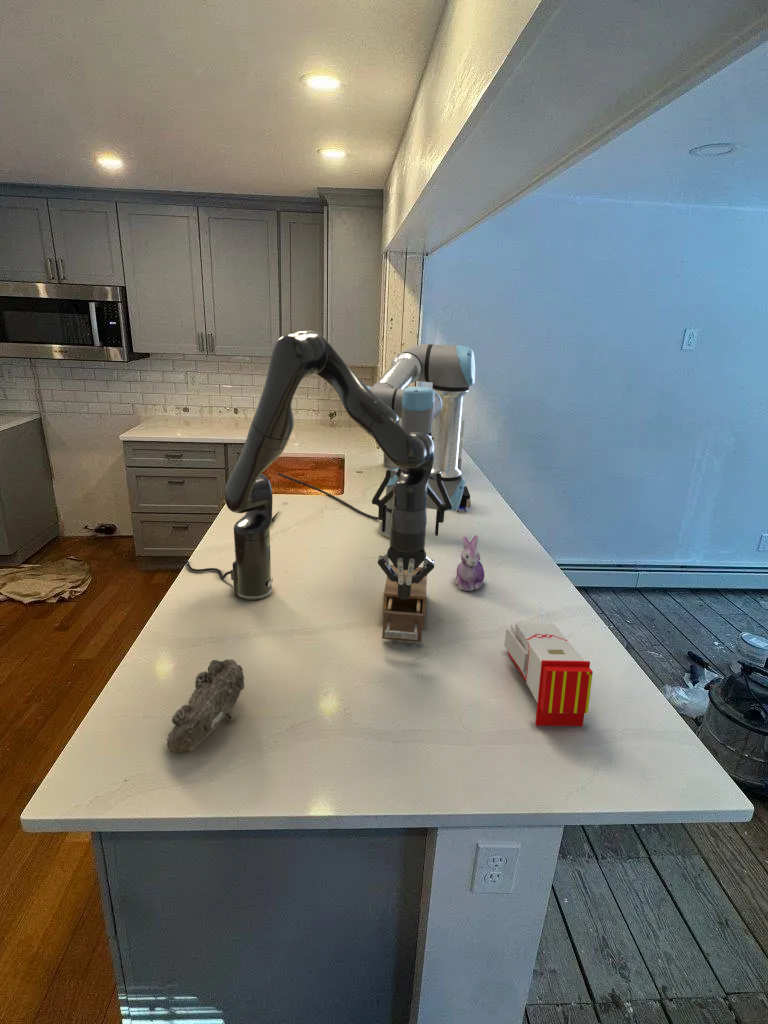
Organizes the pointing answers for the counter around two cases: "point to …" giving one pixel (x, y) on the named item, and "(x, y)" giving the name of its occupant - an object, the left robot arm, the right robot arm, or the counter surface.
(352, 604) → the counter surface
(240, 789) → the counter surface
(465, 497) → the figurine character
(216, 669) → the fossil
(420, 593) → the cabinet
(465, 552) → the figurine
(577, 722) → the toy
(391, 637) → the drawer
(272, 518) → the feather
